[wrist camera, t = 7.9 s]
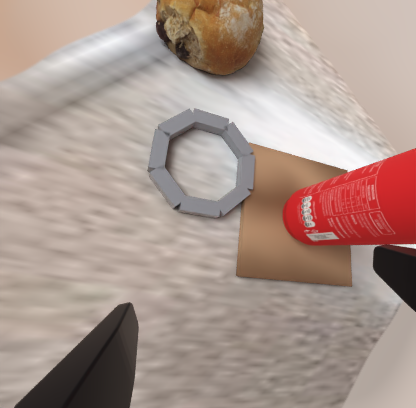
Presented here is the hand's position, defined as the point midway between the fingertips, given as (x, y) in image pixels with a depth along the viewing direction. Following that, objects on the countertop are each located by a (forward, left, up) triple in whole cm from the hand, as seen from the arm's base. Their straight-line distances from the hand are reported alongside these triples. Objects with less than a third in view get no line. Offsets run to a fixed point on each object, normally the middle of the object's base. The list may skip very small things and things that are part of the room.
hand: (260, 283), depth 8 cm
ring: (+9, 0, -10) cm, 13 cm away
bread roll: (+22, +1, -11) cm, 25 cm away
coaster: (+6, -10, -10) cm, 15 cm away
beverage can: (+5, -10, -10) cm, 15 cm away
